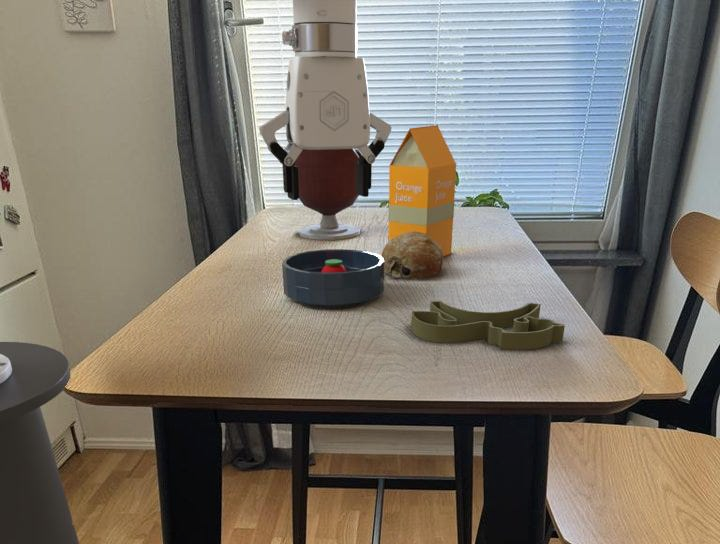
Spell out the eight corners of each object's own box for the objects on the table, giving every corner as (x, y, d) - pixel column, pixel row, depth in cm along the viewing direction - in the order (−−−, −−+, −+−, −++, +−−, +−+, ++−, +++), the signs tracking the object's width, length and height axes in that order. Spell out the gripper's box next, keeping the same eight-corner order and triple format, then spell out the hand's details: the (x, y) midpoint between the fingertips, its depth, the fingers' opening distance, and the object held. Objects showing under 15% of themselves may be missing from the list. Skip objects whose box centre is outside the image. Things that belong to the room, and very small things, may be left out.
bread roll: (376, 297, 108) (370, 255, 101) (393, 256, 113) (387, 214, 107) (437, 302, 105) (434, 259, 99) (450, 260, 110) (448, 217, 104)
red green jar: (326, 295, 94) (325, 265, 92) (317, 288, 97) (316, 259, 95) (351, 292, 95) (351, 262, 93) (342, 285, 98) (342, 257, 96)
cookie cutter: (553, 318, 86) (555, 303, 85) (565, 351, 76) (568, 334, 75) (413, 315, 88) (414, 300, 87) (407, 346, 78) (408, 329, 77)
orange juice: (452, 253, 118) (459, 125, 108) (425, 263, 112) (430, 129, 102) (414, 248, 122) (418, 124, 112) (387, 257, 116) (388, 127, 106)
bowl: (300, 316, 88) (298, 277, 86) (273, 288, 100) (271, 254, 97) (399, 303, 93) (399, 267, 90) (362, 279, 104) (362, 245, 101)
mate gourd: (280, 235, 133) (272, 121, 122) (322, 224, 143) (317, 117, 132) (345, 244, 125) (342, 124, 115) (383, 231, 135) (384, 119, 125)
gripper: (262, 40, 75) (271, 204, 83) (404, 44, 80) (399, 198, 89) (247, 43, 81) (258, 196, 89) (380, 47, 86) (377, 190, 95)
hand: (328, 197), depth 89 cm, fingers open, 9 cm apart
